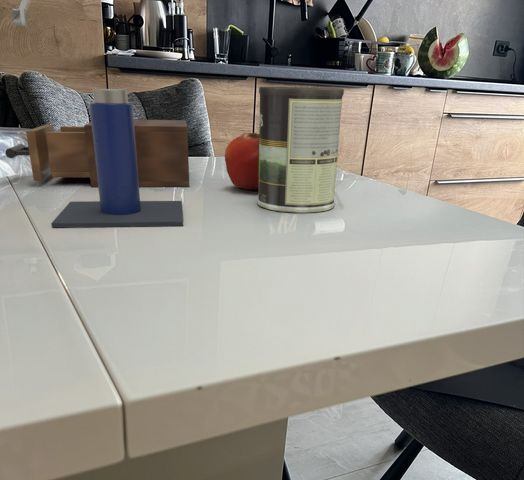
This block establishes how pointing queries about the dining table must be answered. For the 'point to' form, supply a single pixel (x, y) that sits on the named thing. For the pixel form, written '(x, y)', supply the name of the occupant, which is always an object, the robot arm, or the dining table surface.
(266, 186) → the coffee can
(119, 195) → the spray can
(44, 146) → the drawer
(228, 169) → the tomato
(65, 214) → the mat
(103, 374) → the dining table surface
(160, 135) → the cabinet
